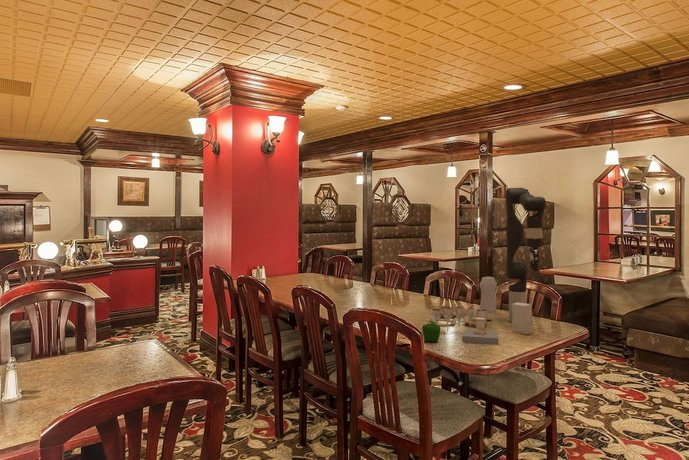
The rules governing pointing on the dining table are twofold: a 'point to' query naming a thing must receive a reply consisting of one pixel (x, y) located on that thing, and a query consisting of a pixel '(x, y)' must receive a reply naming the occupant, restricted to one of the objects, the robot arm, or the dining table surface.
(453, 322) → the tableware set
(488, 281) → the tall pale column
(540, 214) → the robot arm
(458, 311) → the goblet set
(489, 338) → the notched board
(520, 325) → the skincare box
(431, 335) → the bell pepper
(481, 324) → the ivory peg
